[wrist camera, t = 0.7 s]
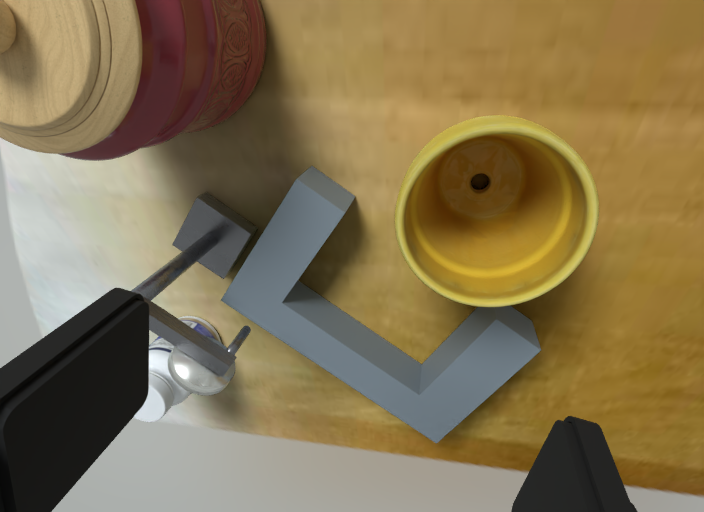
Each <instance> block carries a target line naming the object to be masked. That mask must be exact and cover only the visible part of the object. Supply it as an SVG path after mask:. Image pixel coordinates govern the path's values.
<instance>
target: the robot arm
mask: <svg viewBox="0 0 704 512" xmlns="http://www.w3.org/2000/svg"><path fill="white" fill-rule="evenodd" d="M148 391H149V305H148V303H146V302H144V298H143V296H142V295H141V294H138V293H135V292H131V291H128V290H124V289H121V288H114V289H112V290H111V291H109V292H108V293H106V294H105V295H104V296H102V297H101V298H99V299H98V300H96V301H95V302H94V303H92V304H91V305H89V306H88V307H87V308H85V309H84V310H82V311H81V312H79V313H78V314H77V315H75V316H74V317H72V318H71V319H70V320H68V321H67V322H65V323H64V324H62V325H61V326H60V327H58V328H57V329H55V330H54V331H53V332H51V333H50V334H48V335H47V336H45V337H44V338H43V339H41V340H40V341H38V342H37V343H36V344H34V345H33V346H31V347H30V348H28V349H27V350H26V351H24V352H23V353H21V354H20V355H19V356H17V357H16V358H14V359H13V360H11V361H10V362H9V363H7V364H6V365H4V366H3V367H2V368H0V512H51V511H52V510H53V509H54V508H55V507H56V505H57V504H58V503H59V502H60V501H61V500H62V499H63V497H64V496H65V495H66V494H67V493H68V492H69V490H70V489H71V488H72V487H73V486H74V485H75V484H76V482H77V481H78V480H79V479H80V478H81V476H82V475H83V474H84V473H85V472H86V471H87V470H88V468H89V467H90V466H91V465H92V464H93V463H94V462H95V460H96V459H97V458H98V457H99V456H100V455H101V453H102V452H103V451H104V450H105V449H106V448H107V447H108V445H109V444H110V443H111V442H112V441H113V440H114V439H115V437H116V436H117V435H118V434H119V433H120V432H121V430H122V429H123V428H124V427H125V426H126V425H127V423H128V422H129V421H130V420H131V419H132V418H133V417H134V415H135V414H136V413H137V412H138V411H139V410H140V409H141V407H142V406H143V405H144V403H145V401H146V399H147V396H148ZM512 512H637V510H636V508H635V507H634V505H633V504H632V503H631V502H630V500H629V498H628V496H627V493H626V491H625V488H624V485H623V483H622V480H621V478H620V475H619V473H618V470H617V467H616V465H615V462H614V460H613V457H612V455H611V452H610V450H609V447H608V445H607V442H606V440H605V437H604V435H603V432H602V430H601V428H600V426H599V425H598V424H597V423H593V422H590V421H586V420H583V419H579V418H576V417H572V416H568V417H567V418H565V420H564V421H561V420H557V421H556V422H555V424H554V425H553V427H552V429H551V431H550V433H549V435H548V437H547V439H546V441H545V443H544V445H543V446H542V448H541V450H540V452H539V454H538V456H537V458H536V460H535V462H534V464H533V466H532V468H531V470H530V472H529V474H528V476H527V478H526V480H525V482H524V483H523V486H522V487H521V489H520V491H519V493H518V495H517V497H516V499H515V501H514V503H513V507H512Z"/></svg>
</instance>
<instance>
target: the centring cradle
mask: <svg viewBox="0 0 704 512" xmlns="http://www.w3.org/2000/svg"><path fill="white" fill-rule="evenodd" d="M354 198H355V196H354V195H353V194H351V193H350V192H349V191H347V190H346V189H344V188H343V187H341V186H340V185H339V184H337V183H336V182H334V181H333V180H332V179H330V178H329V177H327V176H326V175H324V174H323V173H322V172H320V171H319V170H317V169H316V168H315V167H313V166H311V167H310V168H308V169H307V170H306V171H305V172H304V173H303V174H301V175H300V176H299V177H298V178H297V179H296V180H295V182H294V184H293V185H292V187H291V188H290V190H289V192H288V193H287V195H286V196H285V198H284V200H283V201H282V203H281V204H280V206H279V208H278V209H277V211H276V213H275V214H274V216H273V217H272V219H271V221H270V222H269V224H268V225H267V227H266V229H265V230H264V232H263V233H262V235H261V237H260V238H259V240H258V241H257V243H256V245H255V246H254V248H253V249H252V251H251V253H250V254H249V256H248V257H247V259H246V261H245V262H244V264H243V265H242V267H241V269H240V270H239V272H238V274H237V275H236V277H235V278H234V280H233V282H232V283H231V285H230V286H229V288H228V290H227V291H226V293H225V294H224V296H223V298H222V299H221V301H223V302H224V303H226V304H227V305H229V306H230V307H232V308H233V309H235V310H236V311H238V312H239V313H241V314H242V315H244V316H245V317H247V318H248V319H250V320H251V321H253V322H254V323H256V324H257V325H259V326H260V327H262V328H263V329H265V330H266V331H268V332H269V333H271V334H272V335H274V336H275V337H277V338H278V339H280V340H281V341H283V342H284V343H286V344H287V345H289V346H290V347H292V348H293V349H295V350H296V351H298V352H300V353H301V354H303V355H304V356H306V357H307V358H309V359H310V360H312V361H313V362H315V363H316V364H318V365H319V366H321V367H322V368H324V369H325V370H327V371H328V372H330V373H331V374H333V375H334V376H336V377H337V378H339V379H340V380H342V381H343V382H345V383H346V384H348V385H349V386H351V387H352V388H354V389H355V390H357V391H358V392H360V393H361V394H363V395H364V396H366V397H367V398H369V399H370V400H372V401H373V402H375V403H376V404H378V405H379V406H381V407H382V408H384V409H385V410H387V411H388V412H390V413H391V414H393V415H394V416H396V417H397V418H399V419H400V420H402V421H404V422H405V423H407V424H408V425H410V426H411V427H413V428H414V429H416V430H417V431H419V432H420V433H422V434H423V435H425V436H426V437H428V438H429V439H431V440H432V441H434V442H435V443H438V442H439V441H440V440H441V439H442V438H443V437H444V436H445V435H447V434H448V433H449V432H450V431H451V430H452V429H453V428H454V427H456V426H457V425H458V424H459V423H460V422H461V421H462V420H463V419H465V418H466V417H467V416H468V415H469V414H470V413H471V412H472V411H474V410H475V409H476V408H477V407H478V406H479V405H480V404H481V403H483V402H484V401H485V400H486V399H487V398H488V397H489V396H490V395H492V394H493V393H494V392H495V391H496V390H497V389H498V388H499V387H501V386H502V385H503V384H504V383H505V382H506V381H507V380H508V379H510V378H511V377H512V376H513V375H514V374H515V373H516V372H517V371H519V370H520V369H521V368H522V367H523V366H524V365H525V364H526V363H528V362H529V361H530V360H531V359H532V358H533V357H534V356H535V355H537V354H538V353H539V352H540V351H541V348H540V345H539V342H538V338H537V335H536V332H535V329H534V326H533V323H532V321H531V320H530V319H528V318H527V317H526V316H524V315H523V314H521V313H520V312H519V311H517V310H516V309H514V308H513V307H511V306H503V307H477V308H476V309H475V310H474V311H473V312H472V313H471V314H470V315H469V316H468V317H467V319H466V320H465V321H464V322H463V323H462V324H461V325H460V326H459V327H458V328H457V329H456V330H455V331H454V332H453V333H452V334H451V335H450V336H449V337H448V338H447V339H446V340H445V341H444V342H443V343H442V344H441V345H440V346H439V347H438V348H437V349H436V350H435V351H434V352H433V353H432V354H431V355H430V356H429V358H428V359H427V360H426V361H425V362H424V363H423V364H420V363H419V362H417V361H416V360H414V359H413V358H411V357H410V356H408V355H407V354H406V353H404V352H403V351H401V350H400V349H398V348H397V347H395V346H394V345H392V344H391V343H389V342H388V341H386V340H385V339H383V338H382V337H381V336H379V335H378V334H376V333H375V332H373V331H372V330H370V329H369V328H367V327H366V326H364V325H363V324H361V323H360V322H358V321H357V320H355V319H354V318H353V317H351V316H350V315H348V314H347V313H345V312H344V311H342V310H341V309H339V308H338V307H336V306H335V305H333V304H332V303H330V302H329V301H327V300H326V299H325V298H323V297H322V296H320V295H319V294H317V293H316V292H314V291H313V290H311V289H310V288H308V287H307V286H305V285H304V284H302V283H301V282H299V281H298V279H299V278H300V276H301V275H302V273H303V272H304V271H305V269H306V268H307V266H308V265H309V263H310V262H311V261H312V259H313V258H314V256H315V255H316V254H317V252H318V251H319V249H320V248H321V247H322V245H323V244H324V242H325V241H326V239H327V238H328V237H329V235H330V234H331V232H332V231H333V230H334V228H335V227H336V225H337V224H338V222H339V221H340V220H341V218H342V217H343V215H344V214H345V212H346V211H347V209H348V208H349V206H350V204H351V203H352V201H353V200H354Z"/></svg>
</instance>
